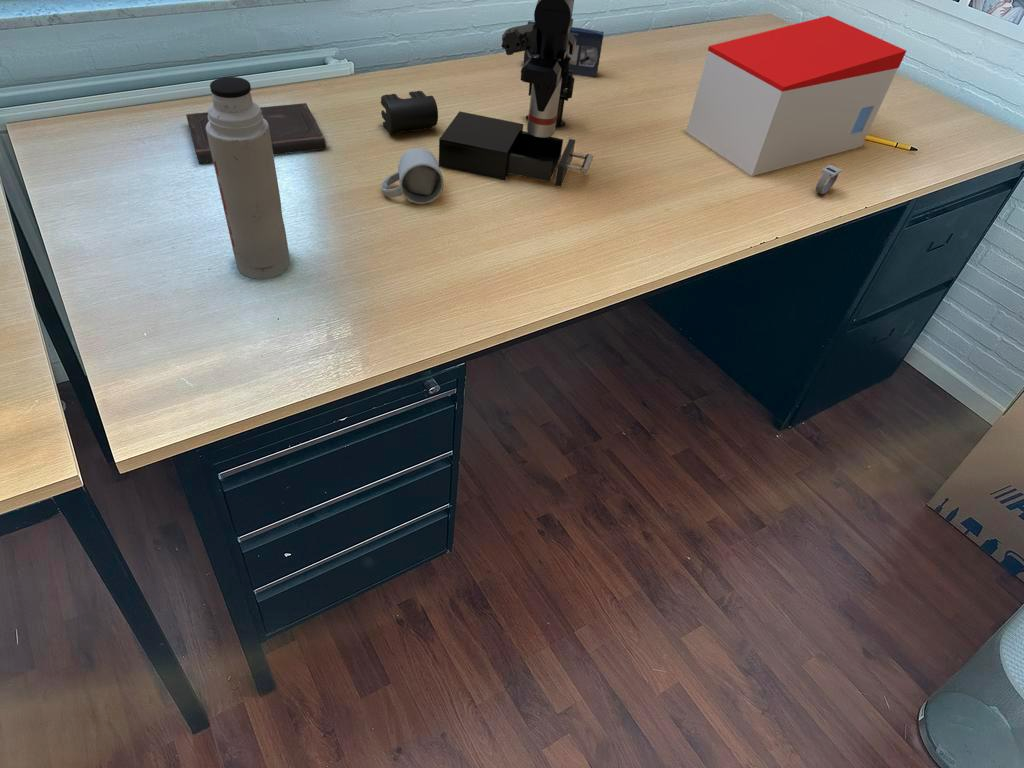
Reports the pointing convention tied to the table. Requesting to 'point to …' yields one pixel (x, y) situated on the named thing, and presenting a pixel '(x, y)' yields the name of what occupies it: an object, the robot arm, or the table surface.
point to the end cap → (409, 112)
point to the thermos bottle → (247, 179)
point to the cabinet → (478, 145)
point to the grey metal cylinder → (543, 115)
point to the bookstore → (792, 93)
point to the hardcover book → (286, 126)
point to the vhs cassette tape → (582, 51)
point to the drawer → (543, 158)
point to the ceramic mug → (416, 177)
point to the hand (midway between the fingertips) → (543, 105)
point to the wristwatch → (827, 172)
